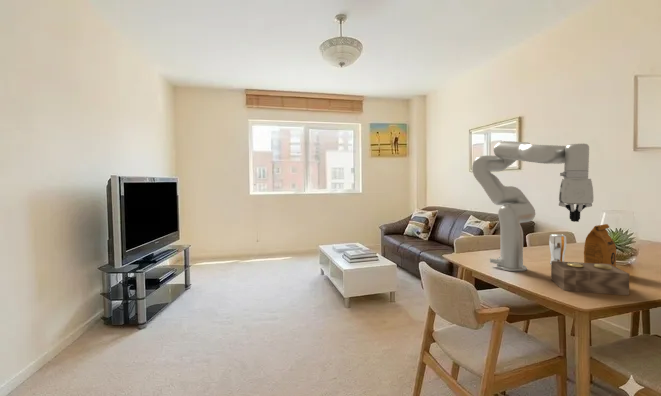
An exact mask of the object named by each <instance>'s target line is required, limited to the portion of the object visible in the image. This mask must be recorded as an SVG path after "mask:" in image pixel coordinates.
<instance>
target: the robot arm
mask: <svg viewBox="0 0 661 396" xmlns="http://www.w3.org/2000/svg"><path fill="white" fill-rule="evenodd" d="M493 154H494V155H490V154H489V155H480V156H478V157H476V158H475V159H474V161H473V162H472V166H471V170H472V174H473V176H474V179H475V180H476V182H478V183H479V184H480V186H481V187H482V188H483V190H484V192H485V193H486V195H487V196H488V197H489V200H491V202H492V203H493V204H494V205H496V206H500V208H499V209H498V212H497V216H498V221H499V227H500V230H499V231H500V233H499V234H500V235H499V236H500V245H499V246H500V254H499V255H500V256H499V257H498V258H490V259H489V263H491V264H496V267H497V269H500V270H504V271H510V272H525V271H527V269H528V267H527V266H526V265H524V231H523V228H522V226H521V224H522V223H528V222H532V221H533V220H534V219H535V217H536V209H535V208H534V206H533V204H532V203H531V202H530V201H529V199H528V198H527V196H526V195H525V194H524V192H523V191H522V190H521V189H520V188H519V187H516V186H513V185H512V186H511V185H510V186H508V185H507V186H505V185H504V184H503V183H502V182H501V181H500V179H499V178H498V177H497V175H495V174H494V173H492V172H502V171H504V170H506V169H508V168H509V167H510V166H511V165H513V164H514V163H515V162H516V161H520V162H521V161H522V162H527V163H528V162H529V163H536V164H537V163H538V164H547V165H549V164H551V165H552V164H554V165H555V164H556V165H561V164H564V168H563V169H564V170H563V172H560V174H559V177H563V178H562V180H561V182H560V187H559V193H558V194H559V195H558V201H559V203H558V206H560V207H563V208H566V210H567V211H568V212H569V220H570V221H571V222H576V223H577V222H579V221H580V220H581V212H583V210H584V209H585V208H590V207H593V203H594V186H593V181H592V178H589V168H590V167H589V166H590V165H589V164H590V163H589V162H590V146H589V144H587V143H571V144H568V145H557V144H556V145H553V144H551V145H549V144H531V143H530V142H528V141H527V142H526V141H525V142H523V141H510V140H509V141H507V140H506V141H505V140H504V141H499V142H497V143H496V144H495V145H494V147H493Z"/></svg>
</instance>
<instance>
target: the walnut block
mask: <svg viewBox="0 0 661 396" xmlns="http://www.w3.org/2000/svg"><path fill="white" fill-rule="evenodd" d="M550 261H551V260H550ZM567 263H579V264H583V268H574V267H569V266H567ZM550 265H551V266H550V267H551V269H550V271H551V272H550V274H551V275H550V276H551V277H550V278H551V279H550V280H551V281H552V282H553V283H554V284H556V285H557V286H558V287H559V288H560V289H562V290H563V291H569V292H581V293H582V292H583V293H593V294H594V293H595V294H607V295H608V294H609V295H619V296H620V295H621V296H630V273H628V272H627V271H625V270H622V269H621V268H618V267H617V266H616V267H614V266H612V265H610V264H598V263H584V262H576V261H564V262H559V261H551V264H550Z"/></svg>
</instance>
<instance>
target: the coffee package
mask: <svg viewBox="0 0 661 396" xmlns="http://www.w3.org/2000/svg"><path fill="white" fill-rule="evenodd" d="M607 229H610V225H609V224H608V223H605V224H599V225H595V226H593V228H592V229H591V230H590V232H589V233H588V234H587V236H586V237H585V240H584V248H583V263H598V264H610V265H612V266H614V267H616V268H617V246H616V243H615V242H614V240H613V238H612V237H611V235H609V232H608V230H607Z"/></svg>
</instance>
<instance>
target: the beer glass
mask: <svg viewBox="0 0 661 396" xmlns="http://www.w3.org/2000/svg"><path fill="white" fill-rule="evenodd" d="M548 245H549V251H550V262H549V264H550V265H551V261H559V262H565V254H566V250H567V236H566V234H559V233H551V234H549V239H548Z"/></svg>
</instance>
